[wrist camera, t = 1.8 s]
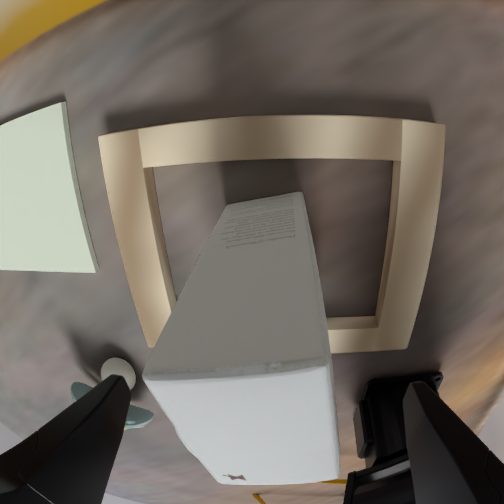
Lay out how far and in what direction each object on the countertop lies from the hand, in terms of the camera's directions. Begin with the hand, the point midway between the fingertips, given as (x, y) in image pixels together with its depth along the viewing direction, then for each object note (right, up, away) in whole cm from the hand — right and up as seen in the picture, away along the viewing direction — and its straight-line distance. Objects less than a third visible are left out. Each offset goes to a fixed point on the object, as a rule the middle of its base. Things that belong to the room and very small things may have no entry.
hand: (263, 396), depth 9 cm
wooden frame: (+1, +5, +9) cm, 10 cm away
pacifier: (-12, -8, +18) cm, 23 cm away
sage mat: (-16, +8, +9) cm, 20 cm away
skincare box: (+1, +5, +9) cm, 10 cm away
